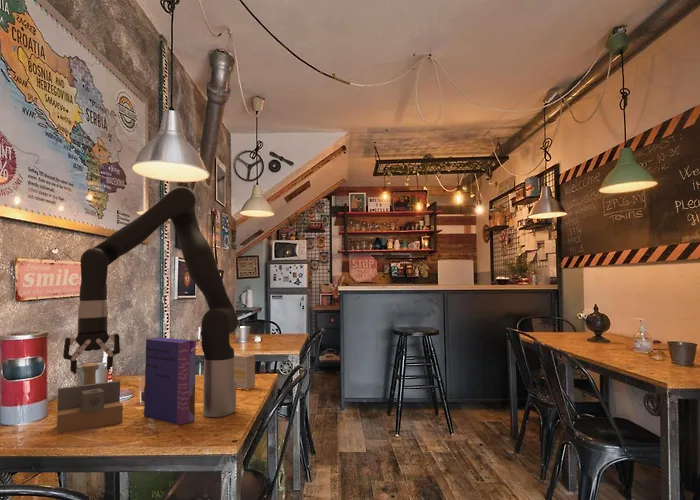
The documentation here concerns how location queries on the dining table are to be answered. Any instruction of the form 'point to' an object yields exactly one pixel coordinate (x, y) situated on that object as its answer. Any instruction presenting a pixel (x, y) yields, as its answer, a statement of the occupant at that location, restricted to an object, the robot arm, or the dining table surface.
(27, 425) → the dining table surface
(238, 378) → the supplement box
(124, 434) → the dining table surface
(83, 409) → the dice cube
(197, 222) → the robot arm
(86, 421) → the board
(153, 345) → the cereal box
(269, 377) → the dining table surface
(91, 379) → the handle
